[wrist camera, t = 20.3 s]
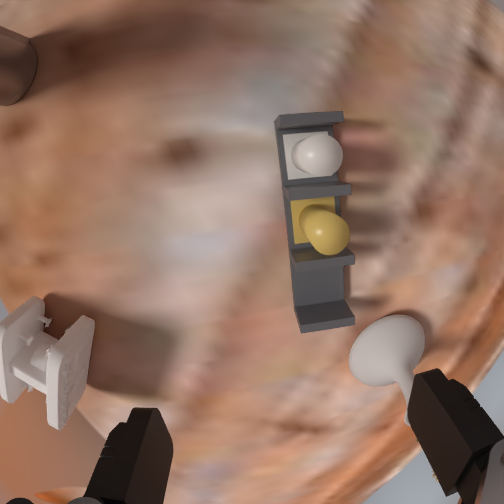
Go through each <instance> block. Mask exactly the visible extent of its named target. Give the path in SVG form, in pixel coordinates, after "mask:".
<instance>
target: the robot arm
mask: <svg viewBox="0 0 504 504" xmlns="http://www.w3.org/2000/svg"><path fill="white" fill-rule="evenodd" d="M36 67H37V56H36V52H35V50H34V48H33V47H32V46H31V45H30V38H28V37H26V36H23V35H21V34H18V33H16V32H14V31H11V30H9V29H6V28H4V27H1V26H0V106H8V105H11V104H13V103H15V102H16V101H18V100H19V99H20V98H21V97H22V96H23V95H24V94H25V92H26V91H27V90H28V88H29V86H30V85H31V83H32V80H33V78H34V75H35V72H36ZM407 415H408V421H409V424H410V426H411V428H412V430H413V431H414V433H415V435H416V437H417V439H418V441H419V443H420V445H421V447H422V449H423V451H424V453H425V455H426V457H427V459H428V461H429V463H430V465H431V467H432V469H433V471H434V473H435V475H436V477H437V479H438V481H439V483H440V485H441V487H442V489H443V491H444V493H445V495H446V497H447V496H449V495H451V494H454V493H456V492H458V493H459V495H460V497H461V498H460V499H459V501H458V504H504V436H503V434H502V433H501V432H500V430H499V429H498V428H497V426H496V425H495V424H494V422H493V421H492V420H491V418H490V417H489V416H488V414H487V413H486V412H485V410H484V409H483V408H482V407H480V404H479V403H478V401H477V400H476V399H474V396H473V395H472V394H471V392H470V391H469V390H468V389H467V387H466V386H464V385H463V384H461V383H459V382H458V381H456V380H454V379H451V380H448V379H447V378H446V377H445V375H444V374H443V373H442V371H441V370H440V369H438V368H436V369H432V370H429V371H426V372H422V373H419V374H416V375H415V377H414V380H413V385H412V390H411V394H410V399H409V403H408V408H407ZM100 456H101V458H99V460H98V462H97V464H96V467H95V470H94V472H93V474H92V477H91V480H90V482H89V485H88V487H87V490H86V492H85V494H84V496H83V497H80V498H76V499H74V500H72V501H70V502H69V503H68V504H163V501H164V496H165V491H166V487H167V482H168V477H169V472H170V467H171V462H172V458H173V443H172V439H171V436H170V434H169V432H168V430H167V427H166V425H165V423H164V420H163V418H162V416H161V413H160V411H159V410H158V408H133V409H132V411H131V413H130V415H129V418H128V420H127V423H124V422H120V423H119V424H118V425H117V426H116V427H115V428H114V429H113V430H112V431H111V432H110V433H109V436H108V438H107V440H106V443H105V448H103V450H102V452H101V455H100ZM7 504H33V503H32V502H31V501H30V500H28V499H25V498H15V499H12V500H10V501H9V502H8V503H7Z"/></svg>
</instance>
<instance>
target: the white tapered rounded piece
mask: <svg viewBox="0 0 504 504" xmlns="http://www.w3.org/2000/svg"><path fill="white" fill-rule="evenodd" d="M424 348H425V335H424V331H423V328H422V326H421V325H420V323H419V322H418V321H417V320H416V319H414V318H413V317H410V316H407V315H391V316H387V317H383V318H381V319H379V320H377V321H375V322H373V323H372V324H370V325H369V326H368V327H366V328H365V329H364V330H363V331H362V332H361V333H360V335H359V336H358V337H357V339H356V340H355V342H354V344H353V346H352V348H351V351H350V354H349V368H350V371H351V373H352V374H353V376H354V377H355V378H356V379H357V380H359V381H361V382H362V383H364V384H366V385H370V386H385V385H390V384H393V383H397V384H398V385H399V387H400V388H401V390H402V392H403V394H404V397H405V400H406V404H407V408H408V403H409V399H410V394H411V390H412V385H413V380H414V377H415V375H414V374H413V372H412V371H413V369H414V368H415V367H416V366H417V364H418V362H419V361H420V359H421V357H422V354H423V352H424ZM404 419H405V423H406V424H407V425H408V426H410V424H409V421H408V415H407V410H406V413H405V418H404ZM417 441H418V439H417ZM432 472H433V473H434V471H432ZM433 477H434V478H436V481H437V482H439V481H438V479H437V477H436V475H435V473H434V474H433Z"/></svg>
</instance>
